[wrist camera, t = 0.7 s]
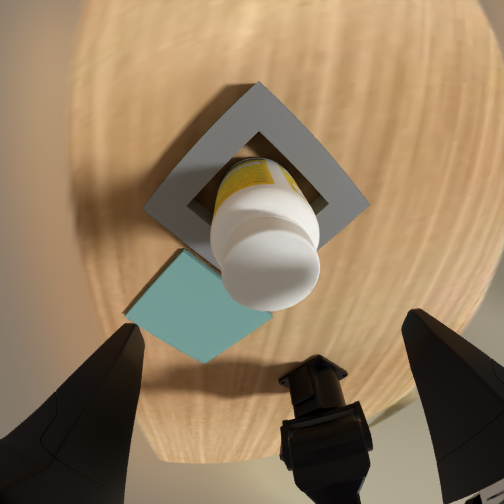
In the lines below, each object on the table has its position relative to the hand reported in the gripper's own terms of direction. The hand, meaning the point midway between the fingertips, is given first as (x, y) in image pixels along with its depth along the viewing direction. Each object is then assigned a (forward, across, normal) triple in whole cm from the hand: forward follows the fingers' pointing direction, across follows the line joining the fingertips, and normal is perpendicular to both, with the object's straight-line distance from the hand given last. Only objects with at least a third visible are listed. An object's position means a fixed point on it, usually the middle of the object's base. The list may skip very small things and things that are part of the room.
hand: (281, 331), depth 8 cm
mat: (+13, +6, +11) cm, 18 cm away
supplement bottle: (+13, 0, 0) cm, 13 cm away
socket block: (+13, 0, 0) cm, 13 cm away
